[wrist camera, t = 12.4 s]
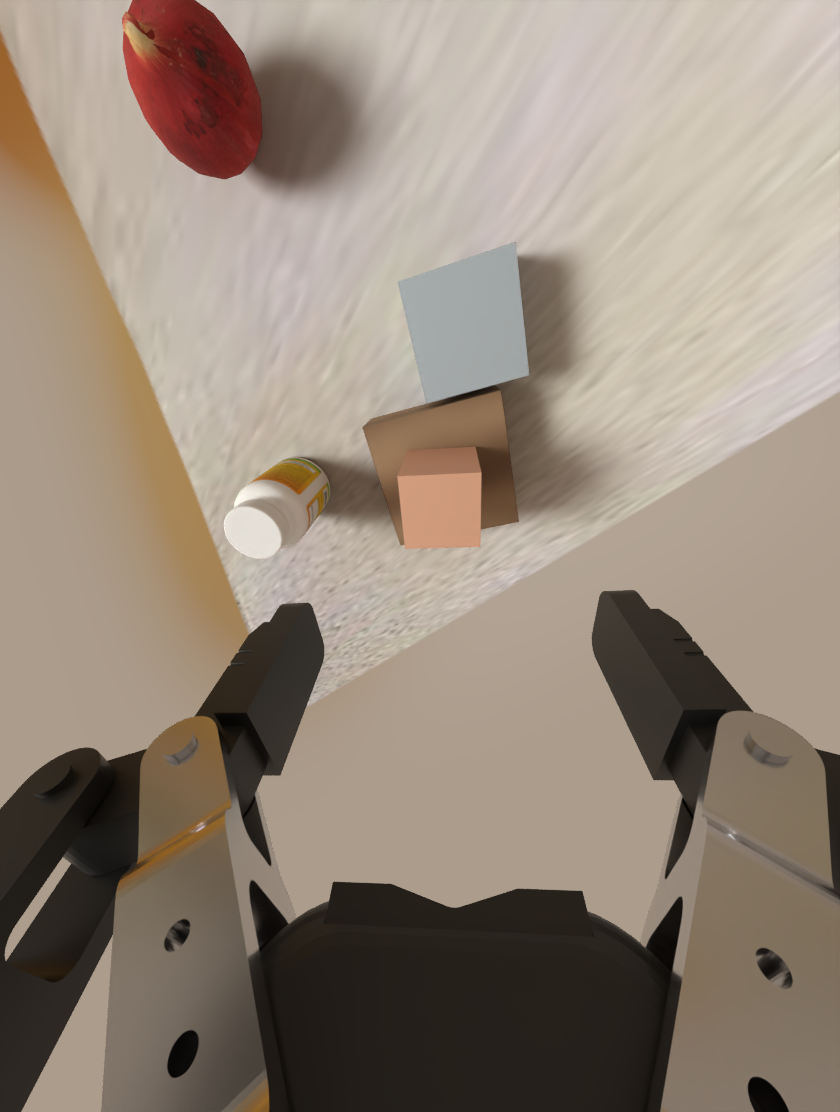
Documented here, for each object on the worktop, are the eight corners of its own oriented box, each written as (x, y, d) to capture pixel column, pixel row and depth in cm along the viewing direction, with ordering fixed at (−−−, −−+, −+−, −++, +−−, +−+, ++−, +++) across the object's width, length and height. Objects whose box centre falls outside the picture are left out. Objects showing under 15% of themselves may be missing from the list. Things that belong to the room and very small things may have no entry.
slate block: (404, 290, 25) (397, 281, 22) (505, 256, 24) (515, 241, 20) (428, 396, 28) (426, 403, 25) (518, 371, 27) (529, 375, 24)
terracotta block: (407, 450, 27) (397, 476, 22) (475, 446, 26) (481, 472, 21) (412, 512, 29) (404, 548, 24) (474, 509, 29) (480, 546, 24)
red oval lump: (280, 65, 20) (193, -81, 13) (286, 204, 23) (218, 144, 16) (176, 50, 20) (35, -104, 13) (196, 191, 23) (89, 125, 16)
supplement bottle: (260, 470, 32) (195, 513, 24) (311, 446, 31) (260, 483, 22) (294, 521, 34) (245, 577, 26) (342, 501, 33) (307, 553, 25)
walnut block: (372, 417, 30) (362, 427, 26) (494, 384, 28) (500, 390, 24) (405, 525, 34) (400, 545, 31) (511, 503, 33) (518, 521, 29)
